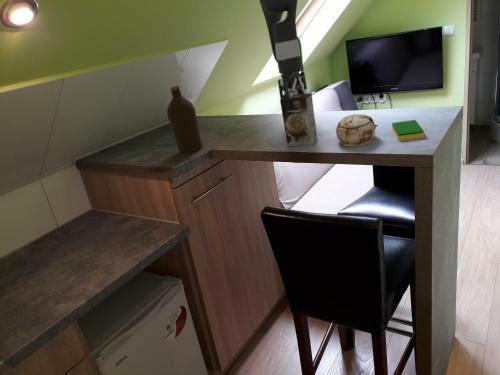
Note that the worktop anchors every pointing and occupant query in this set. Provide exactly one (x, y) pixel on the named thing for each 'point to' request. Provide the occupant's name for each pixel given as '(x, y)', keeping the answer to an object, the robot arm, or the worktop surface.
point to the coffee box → (299, 120)
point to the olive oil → (184, 123)
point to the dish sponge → (407, 130)
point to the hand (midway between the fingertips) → (296, 107)
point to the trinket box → (355, 130)
